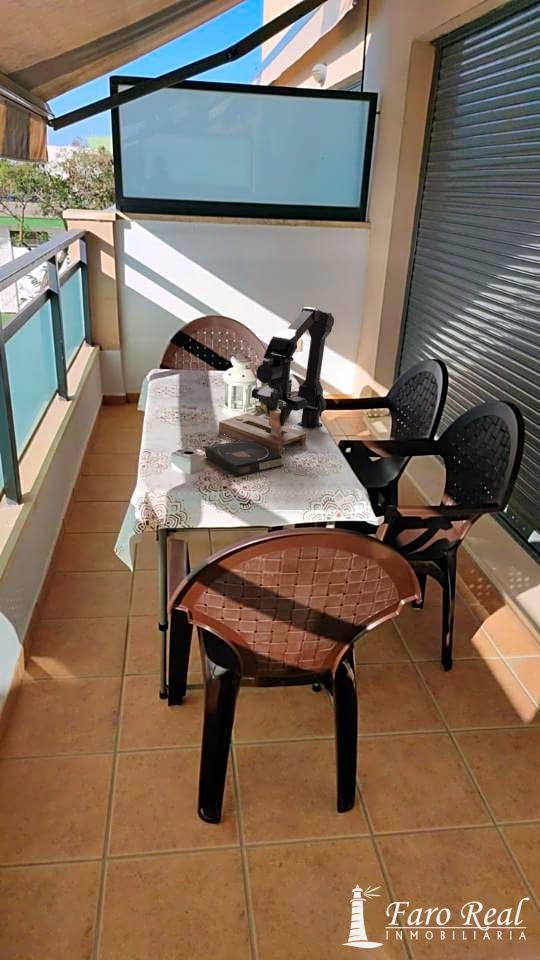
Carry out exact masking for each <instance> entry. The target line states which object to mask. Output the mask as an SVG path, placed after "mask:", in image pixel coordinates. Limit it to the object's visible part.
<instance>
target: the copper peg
mask: <svg viewBox="0 0 540 960" xmlns="http://www.w3.org/2000/svg"><path fill="white" fill-rule="evenodd" d="M280 417H281V410H280V409H274V410H270V417H269V426H272V427H271V434H272V435H275V436H280V435H281V433H282V427H283V426H286V425H285V424H286V422H285V423H284V425H282V426H281V425H280Z"/></svg>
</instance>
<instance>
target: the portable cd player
mask: <svg viewBox="0 0 540 960" xmlns="http://www.w3.org/2000/svg"><path fill="white" fill-rule="evenodd" d="M204 451H205V453H204V455H205V454H206V457H207V460H208V461H209V462H210V463H213V464H214V465H216V466H217V467H219V468H220V469H222V470H223V471H225V472H226V473H228V474H229V475H231V476H232V477H234V478H238V477H242V476H247V475H251V474H256V473H261V472H266V471H270V470H276V469H279V468H282V467H283V459H282V458H283V457H282V454H280V455H279V454H277V453H275V452H274V451H272V450H270V449H268V448H266V447H265V446H263V445H261V444H259V443H258V442H256V441H254V440H252V439H245V440H240V441H239V440H235V441H234V440H233V441H230V442H223V443H219V444H213V445H209V446H205V449H204Z"/></svg>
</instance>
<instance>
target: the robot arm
mask: <svg viewBox="0 0 540 960" xmlns="http://www.w3.org/2000/svg"><path fill="white" fill-rule="evenodd" d="M334 323H335V318H334V316H333V314H332V313H331V312H327V311H322V310H320V309H318V308H314V307H308V306H305V307H303V308H302V309H301V313H300V314H298V315H297V317H295V319H294V320H293V322H291V324H289V326H288V327H287V328H286V329H284V330H282V331H281V330H280V331H278V332H277V333H275V334H274V335H273V336H272V337H271V339H270V340H269V343H268V346H267V348H266V351H265V353H264V355H263V359H262V363H261V364H260V365H258V366H257V369H256V372H255V374H256V378H257V379H258V381H259V382H260V383H261V382H262V383H268V384H267V386H266V387H264V386H262V387H261V386H259V387H255V388H252V390H251V398H253V399H257V400H258V402H259V403H260V404H261V403H263V404H264V405H265V406H266V408H267V410H268V414H267V415H268V416H269V418H270V410H274V409H277V405H278V401H280V402H283V406H280V407H279V409H280V410H281V417H280V425H281V426H282V425H284V423H285V424H286V421H287V420H288V418H289V416H290V414H291V412H292V411H294V412H298V411H301V410H302V413H301V421H299V422H297V425H298V426H303V427H305V428H308V429H316V428H319V427H321V426H323V423H322V422H320V417H321V412H325V411H326V408H327V401H326V399H325V397H324V396H323V395H324V394H323V393H324V389H323V386H322V383H321V372H322V365H323V358H324V351H325V344H326V339H327V338H328V336H329V335H330V334H331V332H332V329H333V327H334ZM306 331H308V333H309V335H310V336H309V337H310V343H309V344H310V345H309V351H308V357H307V359H308V360H307V365H306V366H307V367H306V372H305V374H306V375H305V380H304V381H303V382H302V383H301V384H300V385H299V386H298V393H297V395H296V396H295V397H292V391H291V392H288V391H289V384H290V383H291V384H292V383H293V382H292V381H293V379H291V377H290V376H291V374H290V373H291V364H292V363H291V362H293V361H294V358H293V356H294V354H295V352H296V350H297V349H298V342H299V340H300V339H301V338H302V337H303V335H304V334H305V333H306ZM288 396H291V398H288Z"/></svg>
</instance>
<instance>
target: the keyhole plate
mask: <svg viewBox="0 0 540 960" xmlns="http://www.w3.org/2000/svg"><path fill="white" fill-rule="evenodd" d="M271 427H272V426H269V420H268V419H266V418H263V417H259V416H257V415H254V414H251V413H248V412H247V413H243V414H240V415H236V416H233V417H230V418H227V419H226V418H225V419H222V420H220V421H218V433H219V432H220V433H222V434H221V435H223V434H225V435H224V436H226V435H227V436H226V437H229V436H230V437H229V438H231V437H232V439H235V440H236V441H239V440H245V439H252V440H254V441H256V442H258V443H259V444H261V445H263V446H265V447H266V448H268V449H270V450H272V451H274V452H275V453H277V454H279V455H282V454H283V449H284V445H285V446H286V445H287V444H291V443H292V444H294V445H297V444H298V445H297V446H301V447H303V446H306V444H307V432H305V431H302V430H298V429H296V428H292V427H290V426H286V425H285V426H283V427H282V433H281V435H280V436H275V435H272V434H271ZM220 433H219V434H220Z"/></svg>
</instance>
